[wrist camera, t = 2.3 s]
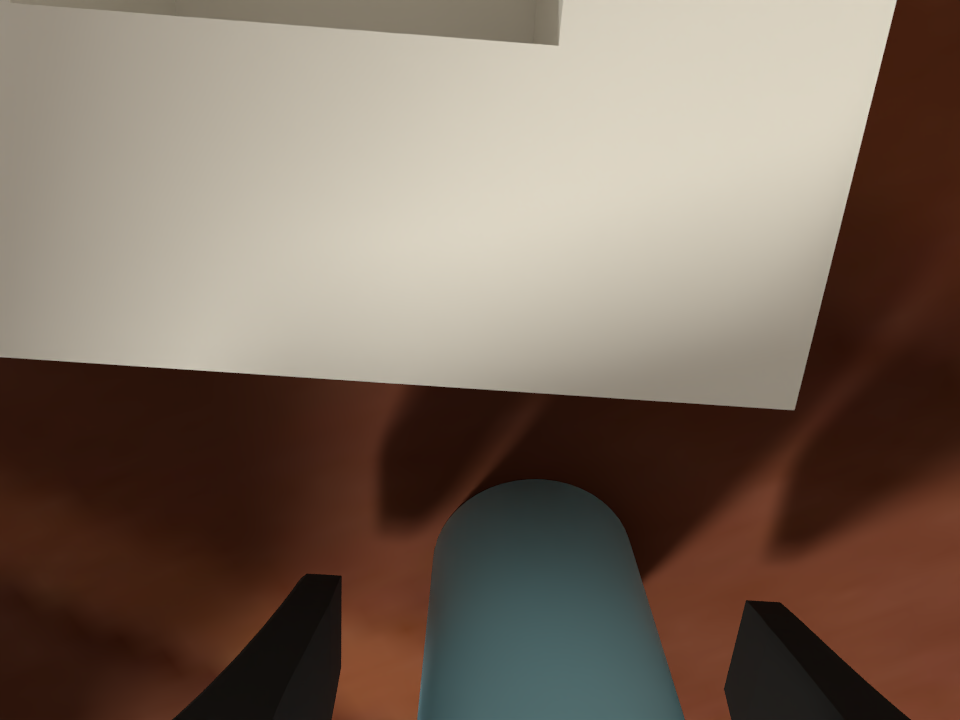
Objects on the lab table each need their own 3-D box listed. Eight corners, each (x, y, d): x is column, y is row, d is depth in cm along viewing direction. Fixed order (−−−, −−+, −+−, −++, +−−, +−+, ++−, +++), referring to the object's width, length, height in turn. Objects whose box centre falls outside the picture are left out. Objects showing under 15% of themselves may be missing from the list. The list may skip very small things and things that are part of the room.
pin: (617, 649, 16) (711, 1055, 9) (428, 638, 16) (391, 1041, 9) (646, 485, 14) (782, 834, 8) (438, 472, 14) (401, 813, 8)
